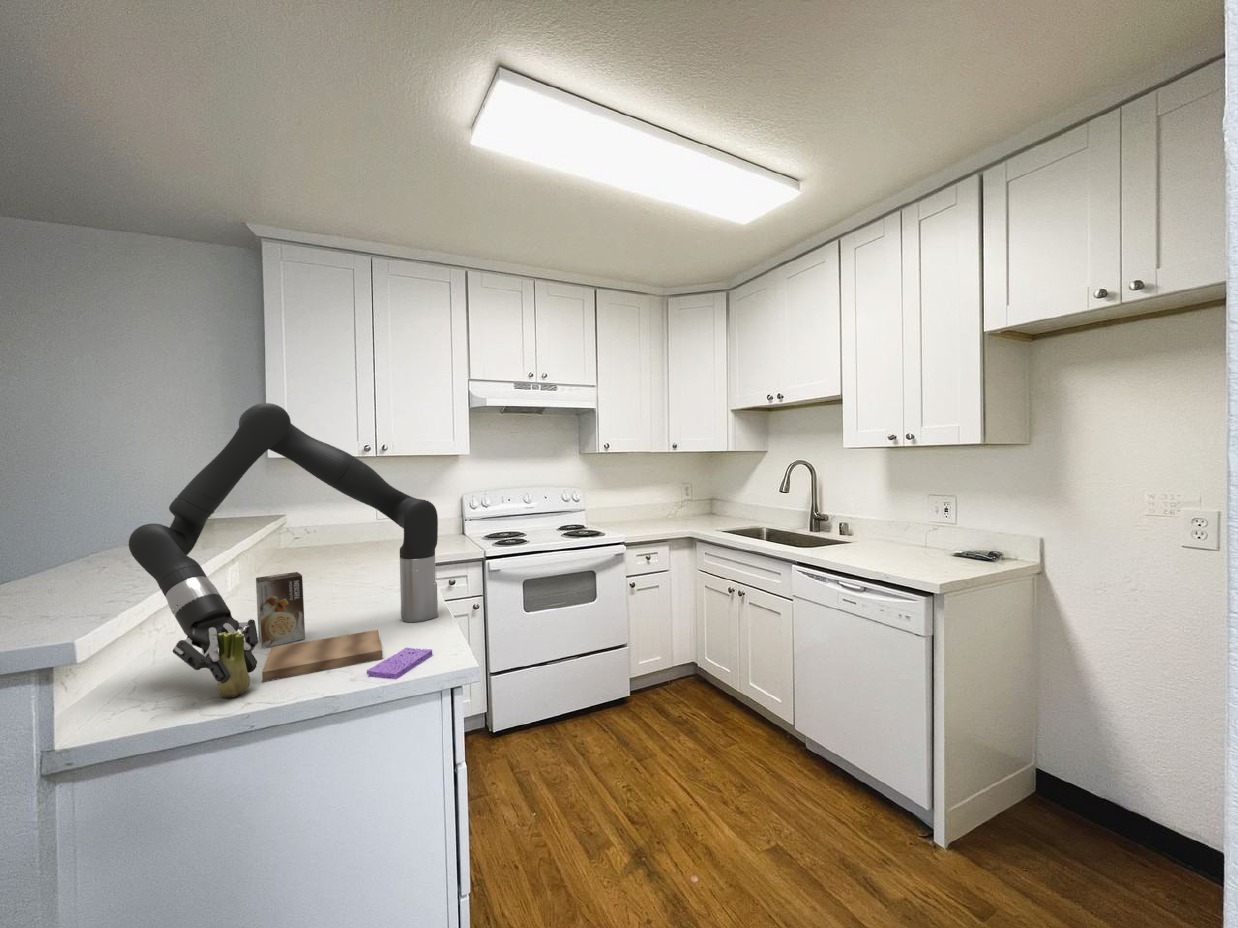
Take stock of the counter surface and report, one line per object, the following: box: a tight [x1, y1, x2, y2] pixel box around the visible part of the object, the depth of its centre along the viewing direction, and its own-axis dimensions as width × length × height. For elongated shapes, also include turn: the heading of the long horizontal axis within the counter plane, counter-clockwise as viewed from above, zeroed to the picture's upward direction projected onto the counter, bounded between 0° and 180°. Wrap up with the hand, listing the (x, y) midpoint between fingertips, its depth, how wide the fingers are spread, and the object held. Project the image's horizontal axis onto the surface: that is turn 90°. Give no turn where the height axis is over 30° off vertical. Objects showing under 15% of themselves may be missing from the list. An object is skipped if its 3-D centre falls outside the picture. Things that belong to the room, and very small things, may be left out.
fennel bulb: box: [217, 631, 251, 699], centre depth 96 cm, size 6×5×12 cm
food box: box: [255, 571, 306, 649], centre depth 123 cm, size 9×6×16 cm
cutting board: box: [261, 629, 383, 683], centre depth 113 cm, size 22×15×2 cm
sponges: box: [366, 647, 433, 680], centre depth 108 cm, size 7×13×2 cm, turn 166°
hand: (239, 674), depth 95 cm, fingers closed on fennel bulb, 4 cm apart
